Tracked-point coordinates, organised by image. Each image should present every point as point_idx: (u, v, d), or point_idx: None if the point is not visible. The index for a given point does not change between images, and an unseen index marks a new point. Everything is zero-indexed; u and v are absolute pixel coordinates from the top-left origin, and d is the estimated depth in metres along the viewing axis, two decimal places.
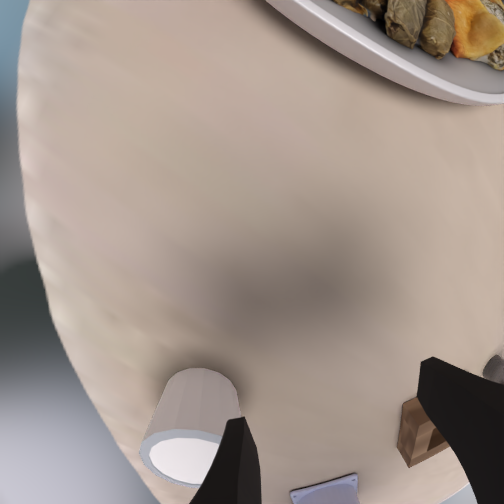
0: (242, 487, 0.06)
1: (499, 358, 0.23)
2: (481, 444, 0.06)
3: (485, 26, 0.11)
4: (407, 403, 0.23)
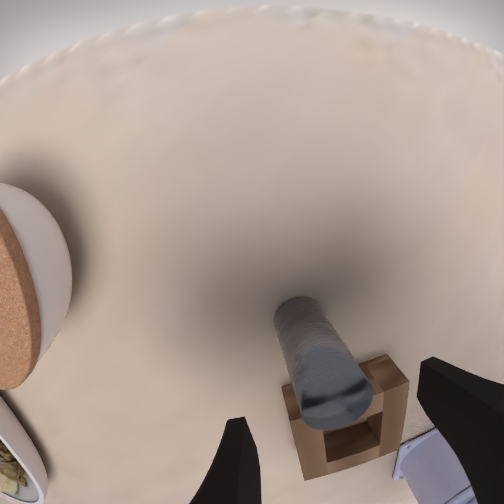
0: (242, 487, 0.06)
1: (276, 324, 0.17)
2: (481, 444, 0.06)
3: None
4: None
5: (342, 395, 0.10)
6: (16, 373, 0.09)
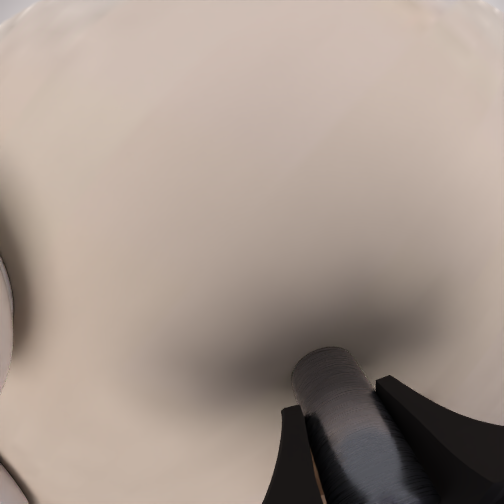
0: None
1: (294, 387, 0.11)
2: (430, 475, 0.06)
3: None
4: None
5: None
6: None
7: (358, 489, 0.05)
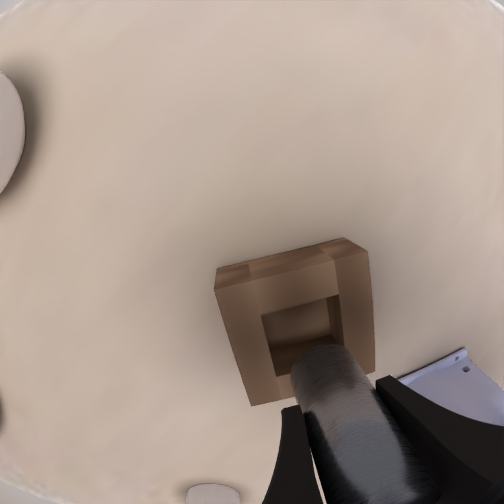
0: None
1: (293, 384, 0.12)
2: (430, 475, 0.06)
3: None
4: None
5: None
6: None
7: (355, 483, 0.05)
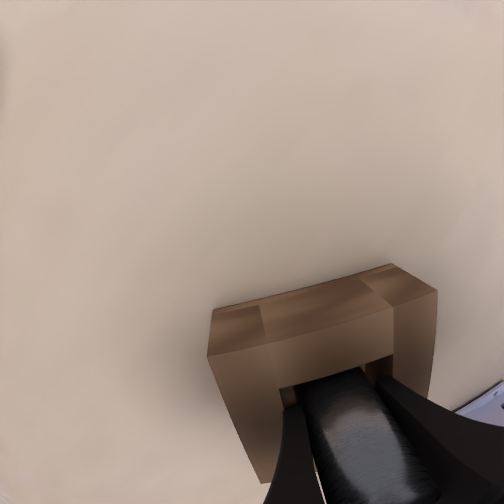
0: None
1: None
2: (430, 475, 0.06)
3: None
4: None
5: None
6: None
7: (355, 483, 0.05)
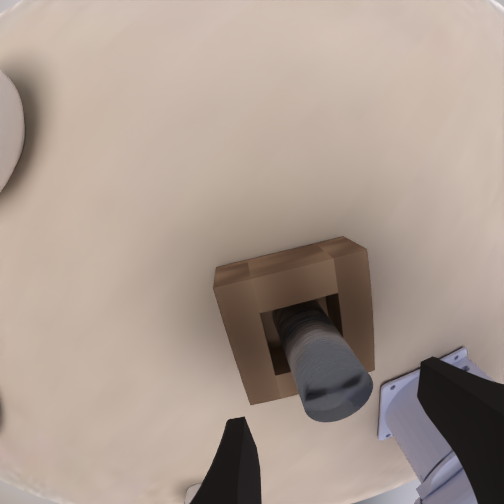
0: (242, 487, 0.06)
1: (274, 319, 0.18)
2: (481, 444, 0.06)
3: None
4: None
5: (342, 387, 0.11)
6: None
7: (311, 363, 0.11)
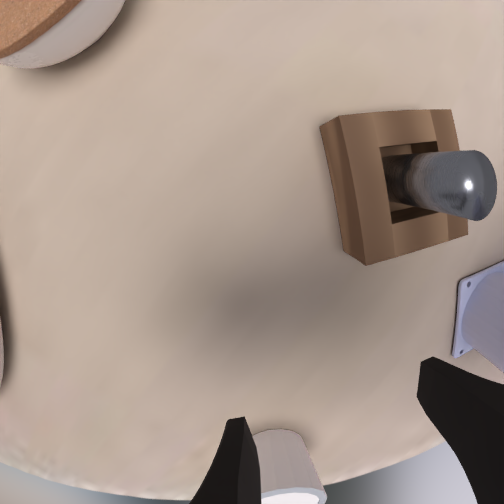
0: (242, 487, 0.06)
1: None
2: (481, 444, 0.06)
3: None
4: (344, 246, 0.18)
5: (478, 173, 0.09)
6: None
7: (445, 156, 0.10)
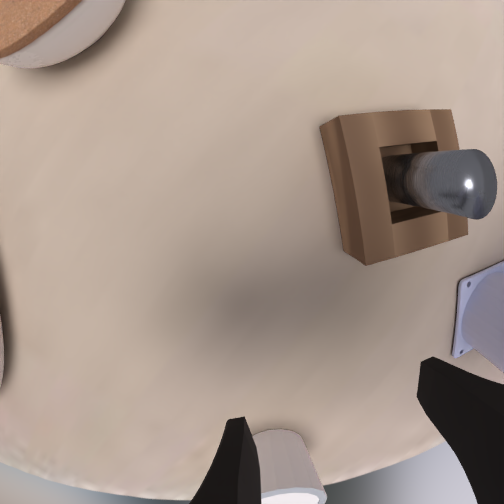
0: (242, 487, 0.06)
1: None
2: (481, 444, 0.06)
3: None
4: (344, 246, 0.18)
5: (478, 171, 0.09)
6: None
7: (445, 155, 0.10)
